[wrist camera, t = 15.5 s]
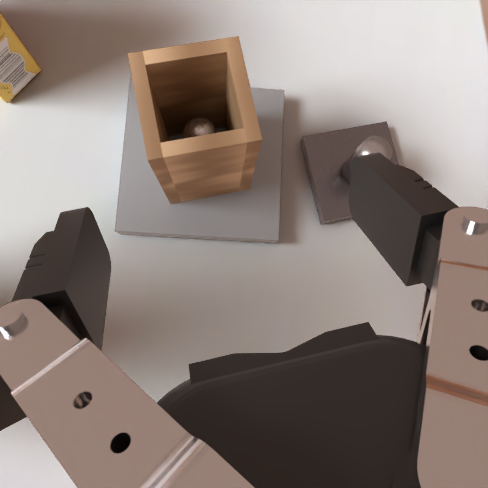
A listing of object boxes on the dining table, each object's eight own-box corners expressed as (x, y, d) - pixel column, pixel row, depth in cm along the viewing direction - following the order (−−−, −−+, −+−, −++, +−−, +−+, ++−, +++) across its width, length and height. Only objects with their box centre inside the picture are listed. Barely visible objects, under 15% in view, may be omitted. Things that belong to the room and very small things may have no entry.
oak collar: (170, 203, 28) (147, 160, 19) (156, 128, 29) (127, 53, 20) (249, 188, 29) (262, 139, 20) (233, 115, 30) (238, 36, 21)
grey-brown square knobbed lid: (320, 224, 30) (340, 209, 25) (300, 141, 31) (315, 112, 26) (403, 207, 31) (438, 190, 26) (381, 127, 32) (410, 95, 27)
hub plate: (120, 234, 29) (91, 215, 23) (134, 88, 31) (111, 32, 25) (275, 243, 30) (291, 227, 23) (281, 99, 32) (296, 48, 25)
